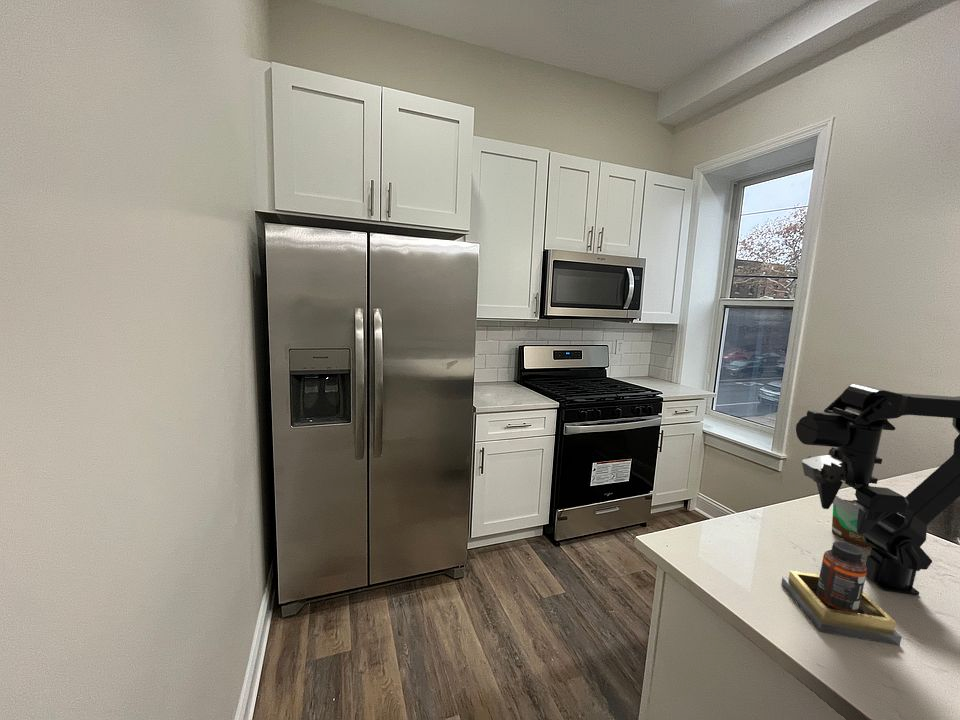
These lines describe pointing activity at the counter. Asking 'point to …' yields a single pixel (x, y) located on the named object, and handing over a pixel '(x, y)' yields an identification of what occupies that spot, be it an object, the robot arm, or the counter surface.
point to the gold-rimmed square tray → (840, 612)
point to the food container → (847, 522)
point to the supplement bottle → (842, 577)
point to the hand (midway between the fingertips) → (841, 520)
